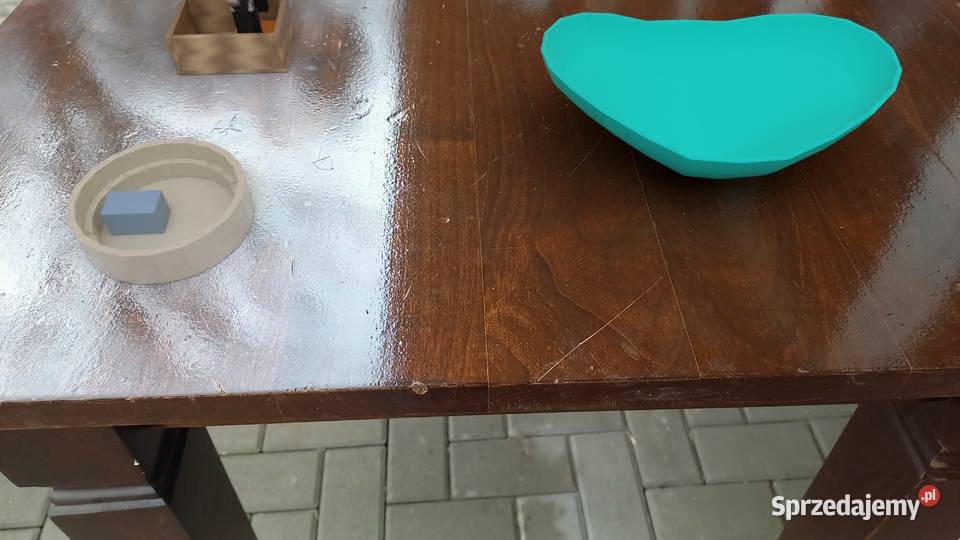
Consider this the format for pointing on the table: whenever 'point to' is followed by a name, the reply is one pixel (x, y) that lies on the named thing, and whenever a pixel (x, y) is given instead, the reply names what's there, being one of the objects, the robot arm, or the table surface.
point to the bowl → (191, 198)
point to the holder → (228, 40)
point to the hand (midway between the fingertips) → (254, 22)
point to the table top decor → (722, 85)
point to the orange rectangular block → (265, 26)
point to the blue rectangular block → (136, 212)
